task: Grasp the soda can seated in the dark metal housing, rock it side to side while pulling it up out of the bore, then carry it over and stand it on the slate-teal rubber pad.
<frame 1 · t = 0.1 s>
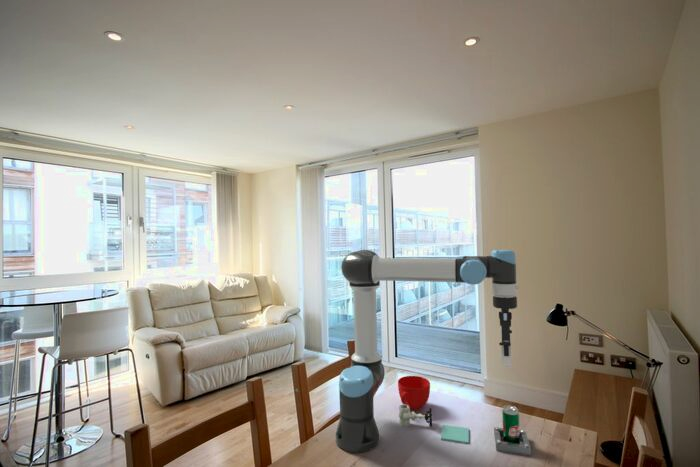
hand: (506, 358, 121), 28 cm above the table, fingers open, 13 cm apart
pad: (455, 434, 125), on the table
valve: (415, 425, 132), on the table
housing: (511, 444, 119), on the table
soda can: (511, 445, 119), resting in housing
ceramic cup: (412, 408, 145), on the table
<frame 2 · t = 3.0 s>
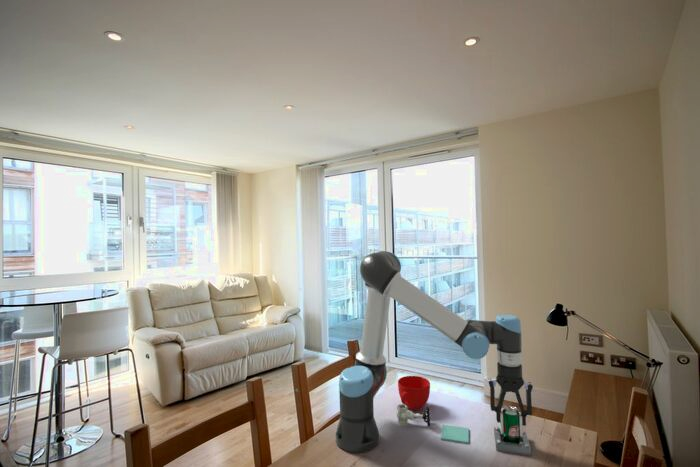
hand: (511, 433, 119), 4 cm above the table, fingers closed on soda can, 5 cm apart
soda can: (511, 445, 119), resting in housing, touching gripper
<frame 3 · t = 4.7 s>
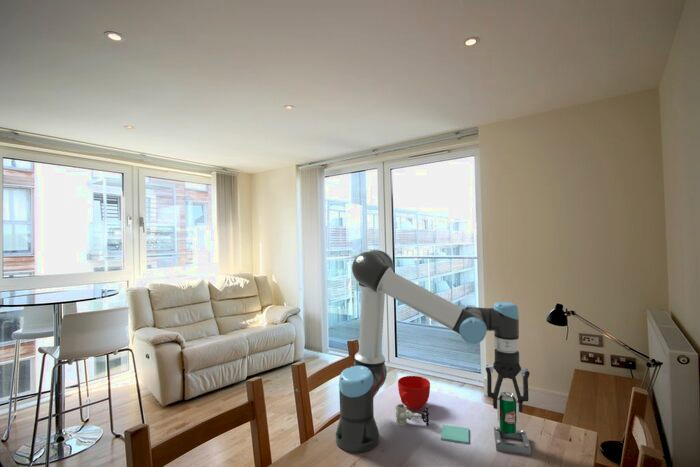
hand: (507, 419, 119), 8 cm above the table, fingers closed on soda can, 5 cm apart
soda can: (507, 431, 119), point 4 cm above the table, touching gripper
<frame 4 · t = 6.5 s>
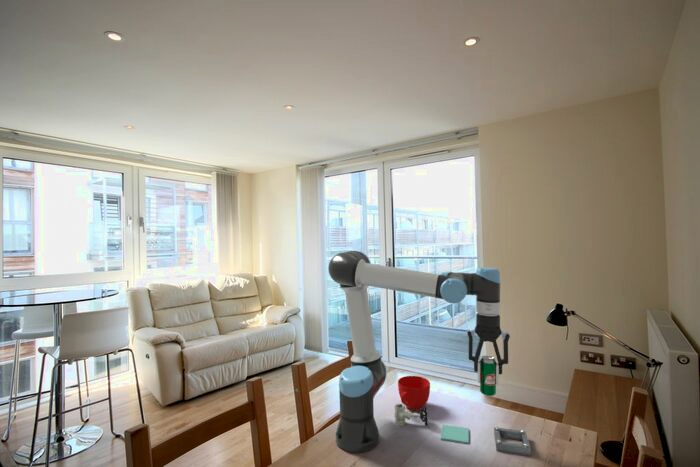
hand: (487, 382, 121), 20 cm above the table, fingers closed on soda can, 5 cm apart
soda can: (488, 393, 121), point 16 cm above the table, touching gripper
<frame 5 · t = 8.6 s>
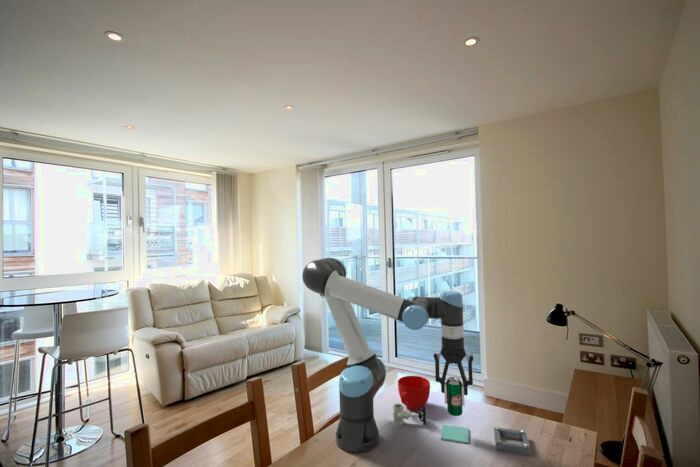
hand: (454, 402, 125), 11 cm above the table, fingers closed on soda can, 5 cm apart
soda can: (455, 414, 125), point 7 cm above the table, touching gripper
when the fingers open (5 cm above the table, at t = 10.2 s): soda can stays where it is, resting on pad.
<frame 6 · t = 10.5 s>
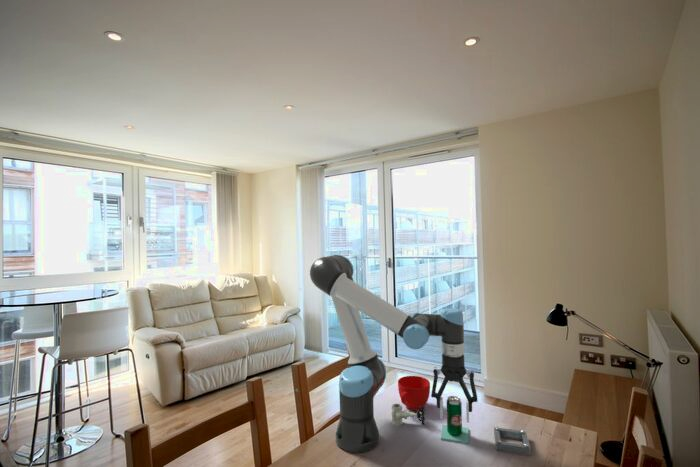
hand: (454, 418, 125), 6 cm above the table, fingers open, 8 cm apart
soda can: (454, 433, 125), resting on pad
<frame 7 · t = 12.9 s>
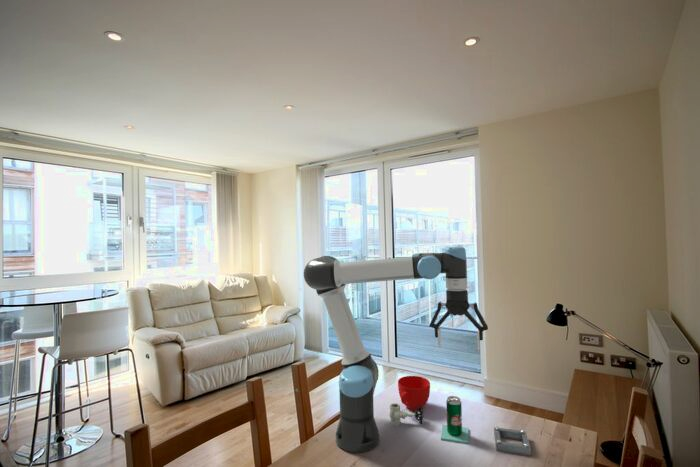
hand: (458, 347, 130), 29 cm above the table, fingers open, 13 cm apart
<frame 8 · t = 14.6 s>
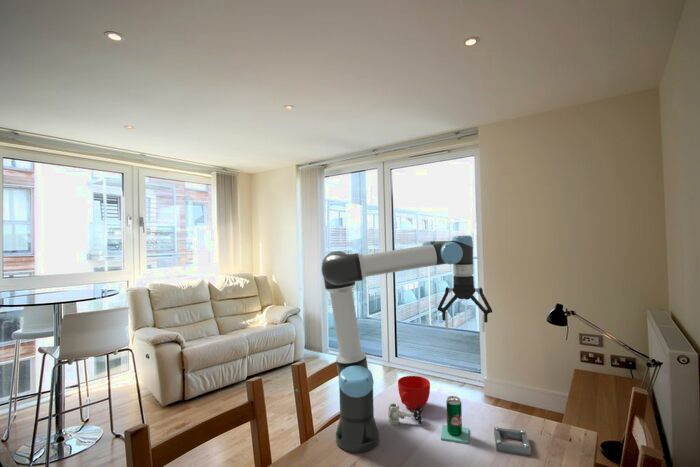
hand: (464, 329, 139), 33 cm above the table, fingers open, 13 cm apart
at the end: soda can 0.1 cm from the pad (horizontally); soda can touching pad; soda can tilted 0° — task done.
